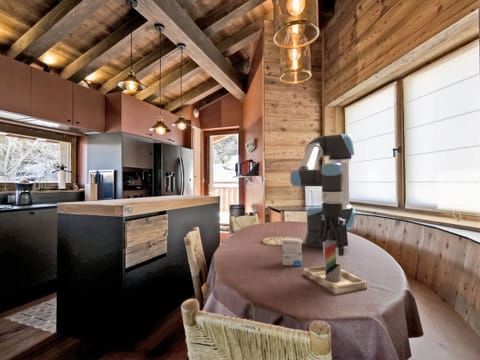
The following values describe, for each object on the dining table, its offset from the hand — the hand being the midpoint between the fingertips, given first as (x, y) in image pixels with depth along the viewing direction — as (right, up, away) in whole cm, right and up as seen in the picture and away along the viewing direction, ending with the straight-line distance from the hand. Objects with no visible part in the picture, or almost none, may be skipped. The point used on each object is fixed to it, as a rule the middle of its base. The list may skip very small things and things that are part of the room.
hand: (332, 260), depth 100 cm
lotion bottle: (0, -8, 0) cm, 8 cm away
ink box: (-12, -8, +20) cm, 25 cm away
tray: (0, -8, 0) cm, 8 cm away
